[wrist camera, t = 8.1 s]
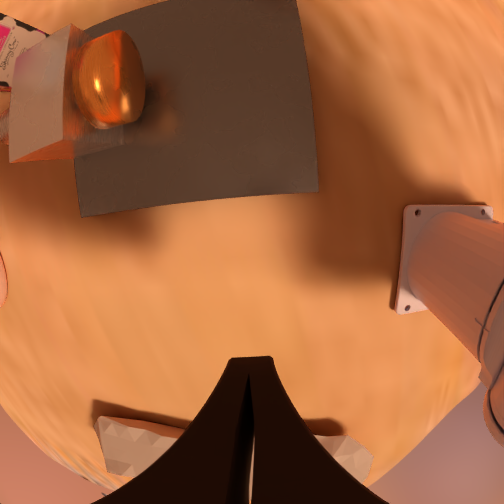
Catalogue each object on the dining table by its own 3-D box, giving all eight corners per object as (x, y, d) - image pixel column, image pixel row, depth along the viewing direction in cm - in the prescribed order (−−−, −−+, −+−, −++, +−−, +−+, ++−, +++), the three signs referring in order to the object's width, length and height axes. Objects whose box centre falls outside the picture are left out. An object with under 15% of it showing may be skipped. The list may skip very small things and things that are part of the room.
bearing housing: (291, -5, 12) (306, -69, 5) (315, 190, 16) (355, 207, 9) (85, 37, 12) (29, 5, 6) (89, 214, 16) (20, 242, 10)
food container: (345, 483, 23) (357, 508, 17) (109, 452, 24) (88, 472, 18) (367, 408, 24) (388, 429, 19) (102, 376, 26) (75, 389, 20)
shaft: (145, 50, 11) (105, 14, 7) (147, 127, 13) (99, 114, 8) (34, 96, 12) (-14, 88, 7) (35, 162, 13) (-18, 169, 8)
